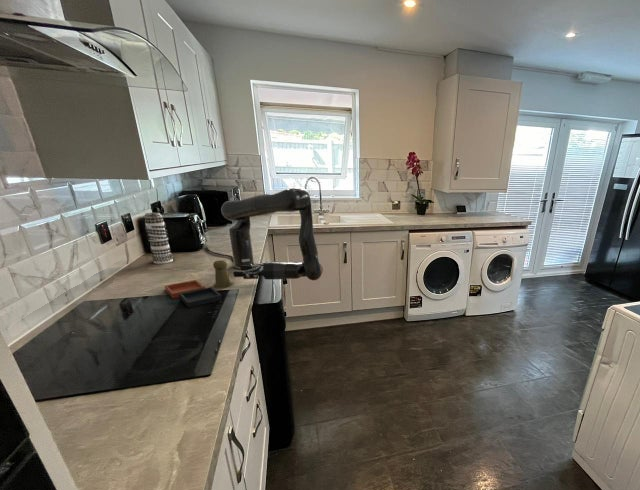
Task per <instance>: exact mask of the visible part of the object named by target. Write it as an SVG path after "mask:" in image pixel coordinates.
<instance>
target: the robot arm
mask: <svg viewBox="0 0 640 490" xmlns="http://www.w3.org/2000/svg"><path fill="white" fill-rule="evenodd" d="M310 195H311V194H310V193H309V191H308V190H307V188H306V189H305V188H304V187H293V188H287V189H284V190H281V191H278V192H276V193H273V194H269V193H266V194H265V193H263V194H258V195H253V196H250V197H247V198H243V199H239V200H238V199H237V200H236V199H235V200H227V201H225V202H224V203H222V205H221V208H220V211H221V215H222V216H223V217H224V218H225V219H226V220H228V221H231V222H232V221H235V222H236V223H234V225H232V226H231V227H229V228H228V231H229V233H228V234H229V238H230V245H231V252H232V255H229V254H224V253H219V252H215V251H212V250H210V248H209V246H208V245H205V249H206V251H207V252H209V253H211V254H214V255H216V256H217V255H218V256H223V257H228V258H231V260H232V262H233V267H234V269H238V270H239V271H233V277H235V278H243V280H259V278H260V277H263V279H265V280H297V279H300V278H303V277H305V278H307V279H308V280H310V281H318V280H319V279H320V278H321V277H322V275H323V272H324V268H323V265H322V264H321V263H320V261H319V250H318V247H317V243H316V242H317V241H316V238H315V234H314V223H313V222H314V221H313V220H314V219H313V209H312V201H311V196H310ZM298 211H299V215H300V227H299V231H298V246H299V249H300V253H301V256H302V262H297V263H296V262H273V261H272V262H269V261H268V262H264V263H255V261H254V253H253V252H254V251H253V245H252V237H251V227H252V226H251V218H259V217H267V216H272V215H274V214H275V213H284V212H286V213H295V212H298Z"/></svg>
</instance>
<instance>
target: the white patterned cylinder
mask: <svg viewBox="0 0 640 490" xmlns="http://www.w3.org/2000/svg"><path fill="white" fill-rule="evenodd" d="M143 218H144V225H145V227H144V230H145V233H146V238H147V240H148V242H149V245H150V253H151V258H152V261H153V264H159V265H160V264H168V263H171V262H172V263H173V261H174V259H173V258H174V257H173V253H172V250H171V249H172V248H171V247H170V244H169V236H168V235H169V233H168V229H166V228H167V225H166V223H165V221H164V216H163V215H162V214H161V213H160V212H147V213H146V212H145V213H144V216H143Z"/></svg>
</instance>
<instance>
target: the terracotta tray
mask: <svg viewBox="0 0 640 490" xmlns="http://www.w3.org/2000/svg"><path fill="white" fill-rule="evenodd" d="M204 288H206V286H205V285H203V284H202V283H201V282H200V281H199V280H197V279H193V280H187V281H183V282H177V283H171V284H167V285H164V289H165V291H166V292H167V294H168V295H169V296H170V297H171V298H172V299H179V298H180V296H179V294H180V293H185V292H190V291H194V290H199V289H204Z"/></svg>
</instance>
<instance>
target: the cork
mask: <svg viewBox="0 0 640 490" xmlns="http://www.w3.org/2000/svg"><path fill="white" fill-rule="evenodd" d="M212 267H213V269H214V271H215V274H214V276H215V288H219V289H221V288H222V289H223V288H228V287H231V286H232V283H231V278H230V276H229V273H228V270H227V267H228V263H227V261H225V260H215V261H214V262H213V263H212Z"/></svg>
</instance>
